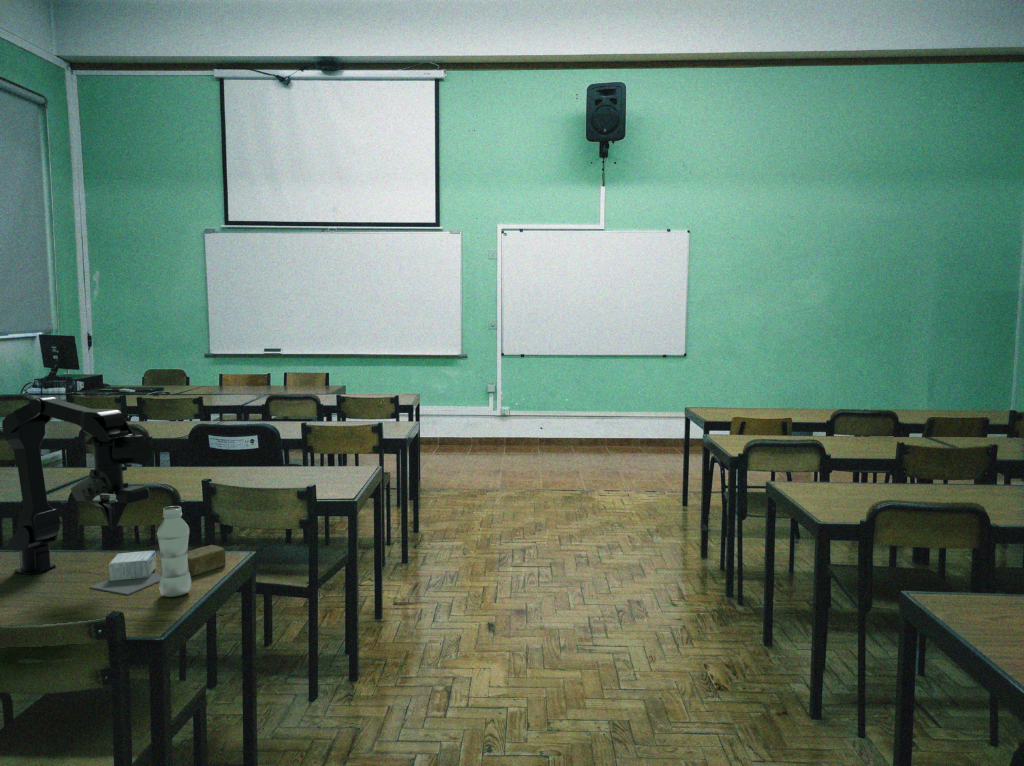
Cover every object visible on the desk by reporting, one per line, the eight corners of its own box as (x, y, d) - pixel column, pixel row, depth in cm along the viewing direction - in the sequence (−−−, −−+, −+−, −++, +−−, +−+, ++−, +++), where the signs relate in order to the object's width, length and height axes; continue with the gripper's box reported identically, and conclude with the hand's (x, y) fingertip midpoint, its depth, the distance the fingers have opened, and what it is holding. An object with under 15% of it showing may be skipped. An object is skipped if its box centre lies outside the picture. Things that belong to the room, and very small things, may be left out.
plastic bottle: (166, 589, 161) (162, 504, 159) (196, 589, 161) (193, 504, 160) (153, 600, 155) (149, 512, 153) (185, 600, 155) (181, 511, 153)
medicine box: (108, 581, 165) (148, 578, 168) (107, 563, 165) (148, 560, 167) (118, 570, 173) (156, 567, 175) (117, 552, 173) (155, 550, 175)
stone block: (173, 575, 171) (172, 555, 171) (214, 561, 181) (213, 542, 180) (187, 579, 168) (186, 559, 168) (228, 565, 178) (228, 546, 177)
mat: (89, 588, 162) (89, 586, 162) (134, 571, 173) (134, 569, 173) (127, 595, 158) (127, 593, 158) (170, 577, 169) (170, 576, 169)
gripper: (47, 468, 161) (53, 534, 162) (106, 472, 154) (111, 541, 156) (92, 459, 171) (96, 521, 173) (149, 462, 165) (153, 527, 166)
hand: (113, 528), depth 166 cm, fingers closed
